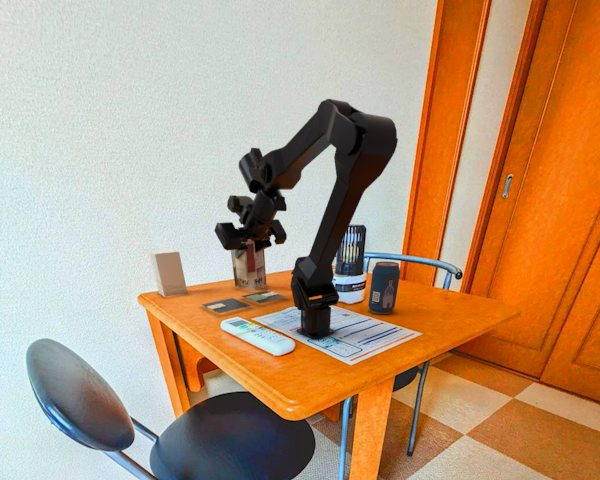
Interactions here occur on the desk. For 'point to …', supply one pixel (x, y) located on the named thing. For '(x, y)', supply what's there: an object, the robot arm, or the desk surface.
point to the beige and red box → (247, 263)
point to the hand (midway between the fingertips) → (242, 256)
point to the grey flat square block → (263, 296)
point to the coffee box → (261, 273)
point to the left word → (225, 305)
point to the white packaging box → (168, 272)
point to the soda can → (384, 287)
